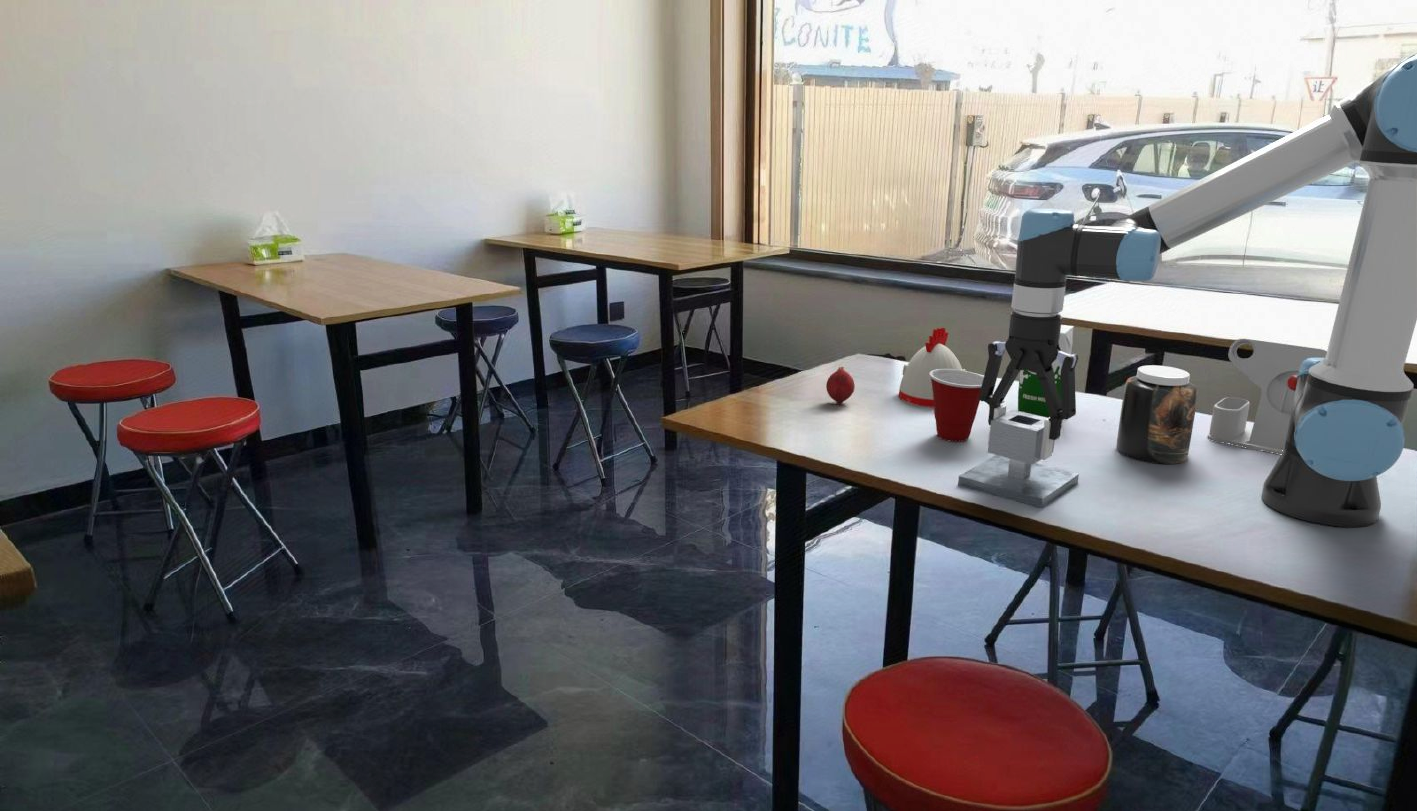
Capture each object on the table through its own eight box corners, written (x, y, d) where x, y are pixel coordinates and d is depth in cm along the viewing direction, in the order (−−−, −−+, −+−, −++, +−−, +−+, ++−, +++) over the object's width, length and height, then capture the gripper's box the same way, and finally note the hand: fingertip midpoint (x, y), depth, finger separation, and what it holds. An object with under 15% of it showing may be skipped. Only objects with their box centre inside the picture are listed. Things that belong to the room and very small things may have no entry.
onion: (855, 407, 190) (857, 370, 187) (827, 407, 190) (828, 370, 187) (851, 399, 195) (853, 362, 193) (824, 399, 195) (825, 362, 193)
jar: (1105, 453, 164) (1116, 371, 159) (1129, 437, 172) (1140, 359, 168) (1175, 469, 156) (1189, 384, 152) (1197, 452, 164) (1210, 371, 160)
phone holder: (1202, 439, 171) (1218, 344, 166) (1219, 426, 178) (1235, 335, 173) (1311, 461, 160) (1331, 361, 155) (1323, 447, 167) (1344, 350, 162)
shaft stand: (1077, 482, 151) (1084, 433, 148) (1041, 508, 141) (1047, 455, 138) (997, 461, 160) (1002, 415, 157) (958, 484, 150) (962, 435, 147)
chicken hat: (977, 397, 197) (983, 328, 193) (946, 411, 187) (952, 339, 183) (919, 385, 206) (923, 319, 202) (886, 398, 196) (891, 329, 192)
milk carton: (1011, 416, 184) (1021, 318, 178) (1023, 405, 191) (1033, 310, 185) (1057, 424, 179) (1069, 323, 173) (1067, 412, 187) (1079, 315, 181)
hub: (1053, 452, 149) (1057, 420, 147) (1032, 464, 144) (1037, 431, 142) (1008, 441, 154) (1012, 409, 152) (987, 452, 148) (991, 420, 147)
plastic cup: (986, 448, 166) (992, 384, 163) (925, 444, 168) (929, 381, 165) (982, 429, 176) (987, 368, 173) (924, 425, 178) (928, 365, 175)
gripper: (1113, 317, 138) (1093, 460, 145) (985, 299, 151) (973, 431, 158) (1094, 325, 132) (1074, 473, 139) (963, 306, 146) (951, 442, 153)
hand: (1020, 450), depth 149 cm, fingers closed on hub, 8 cm apart
